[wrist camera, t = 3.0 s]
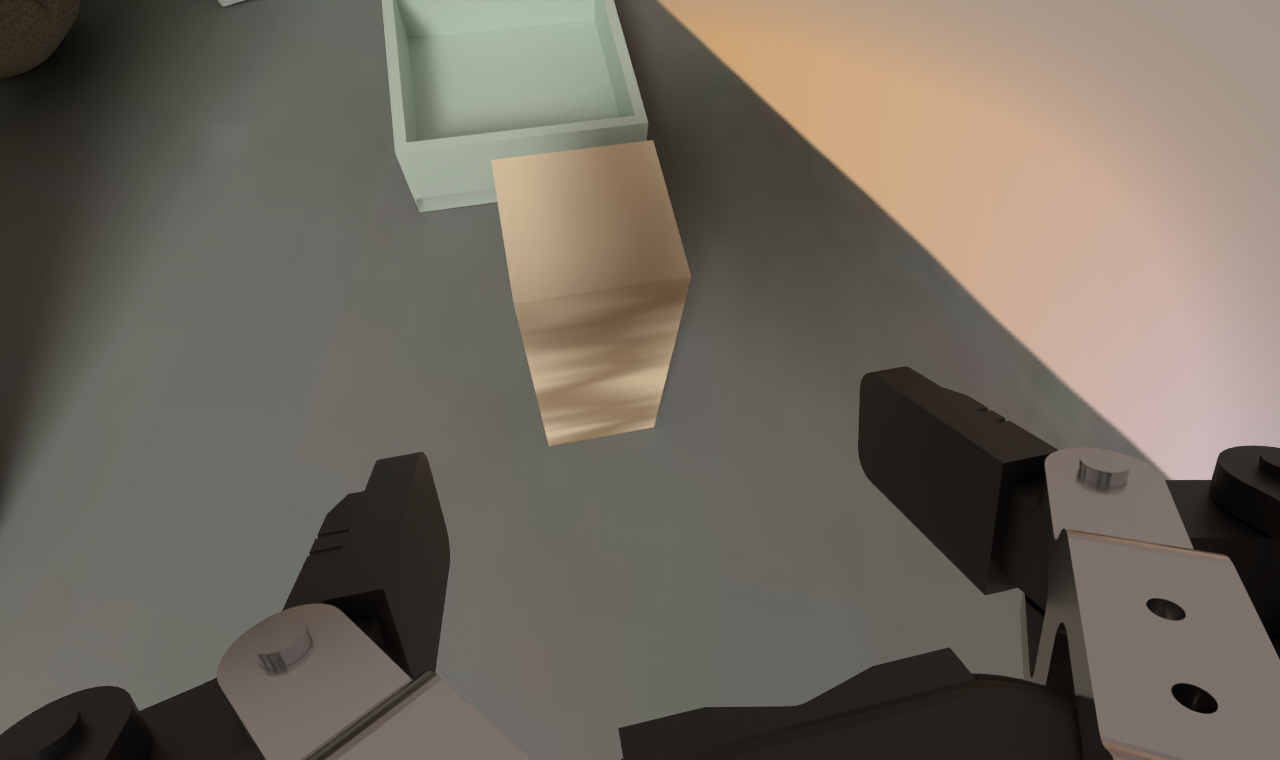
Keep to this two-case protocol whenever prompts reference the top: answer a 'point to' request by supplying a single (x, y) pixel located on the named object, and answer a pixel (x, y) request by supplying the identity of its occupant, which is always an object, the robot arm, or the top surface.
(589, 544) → the top surface
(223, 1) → the small box
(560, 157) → the birch block
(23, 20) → the brown leather ball
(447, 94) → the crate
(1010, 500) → the robot arm
